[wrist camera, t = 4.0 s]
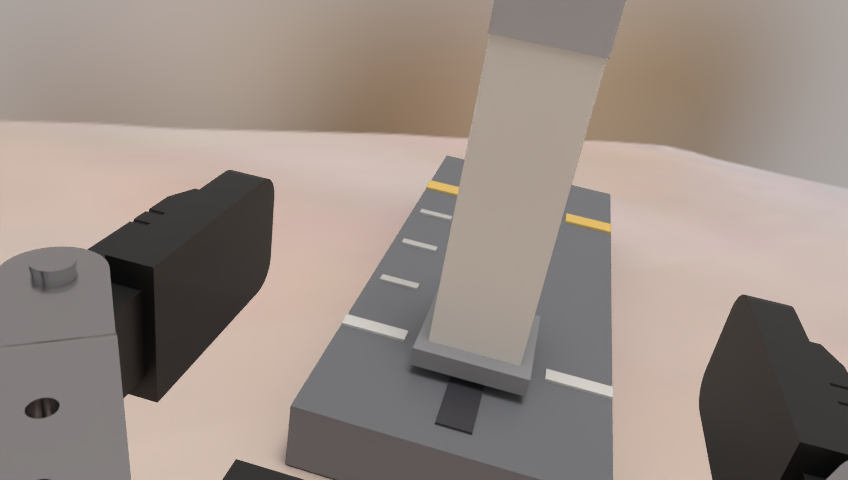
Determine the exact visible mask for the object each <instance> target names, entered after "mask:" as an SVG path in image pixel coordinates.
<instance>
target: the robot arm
mask: <svg viewBox="0 0 848 480" xmlns="http://www.w3.org/2000/svg"><path fill="white" fill-rule="evenodd" d="M273 208H274V186H273V183H272V181H271V180H270V179H266V178H262V177H258V176H254V175H249V174H245V173H241V172H237V171H233V170H228V171H226V172H224V173H223V174H221V175H220V176H218V177H217V178H215V179H214V180H213V181H211V182H210V183H208V184H207V185H205V186H204V187H202V188H201V189H199V190H198V189H192V190H189V191H186V192H182V193H179V194H175V195H172V196H169V197H167V198H165V199H164V200H162V201H161V202H159V203H158V204H156V205H155V206H153V207H152V208H150V209H149V212H146V211H145V212H144V213H142V214H141V215H139V216H138V217H136V218H135V219H134V222H129V223H127V224H126V225H124V226H123V227H121V228H120V229H118V230H117V231H115V232H113V233H112V234H110V235H109V236H107V237H106V238H104V239H103V240H101V241H100V242H98V243H97V244H95V245H94V246H92V247H91V248H89V249H88V250H86V249H82V248H75V247H49V248H41V249H36V250H32V251H28V252H25V253H22V254H19V255H17V256H14V257H12V258H10V259H9V260H7V261H6V262H4V263H3V264H2V265H1V266H0V480H131V474H130V464H129V453H128V443H127V432H126V422H125V411H124V401H123V398H124V397H125V396H126V395H127V394H131V395H134V396H137V397H141V398H144V399H147V400H151V401H154V402H158V401H159V400H160V399H161V398H162V397H163V396H164V395H165V394H166V393H167V392H168V390H169V389H170V388H171V387H172V386H173V385H174V384H175V383H176V382H177V381H178V379H179V378H180V377H181V376H182V375H183V374H184V373H185V372H186V371H187V370H188V368H189V367H190V366H191V365H192V364H193V363H194V362H195V361H196V360H197V359H198V357H199V356H200V355H201V354H202V353H203V352H204V351H205V350H206V349H207V348H208V346H209V345H210V344H211V343H212V342H213V341H214V340H215V339H216V338H217V337H218V335H219V334H220V333H221V332H222V331H223V330H224V329H225V328H226V327H227V326H228V324H229V323H230V322H231V321H232V320H233V319H234V318H235V317H236V316H237V315H238V313H239V312H240V311H241V310H242V309H243V308H244V307H245V306H246V305H247V304H248V302H249V301H250V300H251V299H252V298H253V297H254V296H255V295H256V294H257V292H258V291H259V290H260V288H261V287H262V285H263V283H264V281H265V279H266V276H267V273H268V269H269V265H270V258H271V242H272V225H273ZM699 410H700V416H701V421H702V426H703V432H704V437H705V442H706V448H707V453H708V458H709V464H710V469H711V474H712V480H848V373H847V371H846V369H845V367H844V366H843V365H842V364H841V363H840V362H839V361H838V360H837V359H836V358H834V357H833V356H832V355H831V354H830V353H829V352H828V351H827V350H826V349H825V348H824V347H823V346H822V345H821V344H817V343H813V342H810V341H809V339H808V337H807V335H806V333H805V331H804V329H803V327H802V324H801V322H800V320H799V318H798V316H797V314H796V312H795V310H794V308H793V307H792V306H789V305H785V304H780V303H776V302H772V301H768V300H764V299H760V298H756V297H751V296H747V295H741V296H739V297H738V299H737V300H736V301H735V303H734V305H733V307H732V309H731V311H730V314H729V316H728V318H727V321H726V323H725V325H724V328H723V330H722V333H721V335H720V337H719V340H718V342H717V344H716V347H715V349H714V352H713V354H712V356H711V359H710V361H709V363H708V366H707V368H706V371H705V373H704V376H703V380H702V384H701V389H700V396H699ZM223 480H303V479H300V478H297V477H293V476H290V475H287V474H283V473H280V472H277V471H273V470H270V469H267V468H263V467H260V466H257V465H254V464H250V463H247V462H244V461H240V460H237V459H236V460H235V462H234V463H233V465H232V466H231V468H230V469H229V471H228V472H227V474H226V475H225V477H224V478H223Z"/></svg>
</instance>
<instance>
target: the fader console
mask: <svg viewBox="0 0 848 480" xmlns="http://www.w3.org/2000/svg"><path fill="white" fill-rule="evenodd" d="M463 165H464V160H463V159H459V158H455V157H450V156H446V158H445V159H444V161H443V163H442V164H441V166H440V167H439V169H438V171H437V172H436V174H435V175H434V177H433V179H432V180H431V181H430V182H429V184H428V185H427V188H426V190H425V191H424V193H423V195H422V196H421V198H420V199H419V201H418V203H417V204H416V206H415V207H414V209H413V211H412V212H411V214H410V215H409V217H408V219H407V220H406V222H405V223H404V225H403V227H402V228H401V230H400V231H399V233H398V235H397V236H396V238H395V239H394V241H393V243H392V244H391V246H390V247H389V249H388V251H387V252H386V254H385V256H384V257H383V259H382V260H381V262H380V264H379V265H378V267H377V268H376V270H375V272H374V273H373V275H372V276H371V278H370V280H369V281H368V283H367V284H366V286H365V288H364V289H363V291H362V292H361V294H360V296H359V297H358V299H357V300H356V302H355V304H354V305H353V307H352V308H351V310H350V312H349V313H348V314H347V315H346V316H345V318H344V319H343V321H342V324H341V326H340V328H339V329H338V331H337V332H336V334H335V336H334V337H333V339H332V340H331V342H330V344H329V345H328V347H327V348H326V350H325V352H324V353H323V355H322V357H321V358H320V360H319V361H318V363H317V365H316V366H315V368H314V369H313V371H312V373H311V374H310V376H309V377H308V379H307V381H306V382H305V384H304V385H303V387H302V389H301V390H300V392H299V393H298V395H297V397H296V398H295V400H294V401H293V403H292V405H291V408H290V419H289V431H288V442H287V453H286V464H287V465H290V466H293V467H296V468H300V469H303V470H306V471H309V472H313V473H316V474H319V475H322V476H326V477H329V478H332V479H335V480H613V435H612V399H613V387H612V330H611V224H610V194H606V193H602V192H598V191H594V190H590V189H585V188H581V187H577V186H573V185H571V188H570V192H569V195H568V199H567V202H566V206H565V210H564V213H563V217H562V220H561V224H560V227H559V231H558V234H557V238H556V241H555V245H554V249H553V252H552V256H551V259H550V263H549V266H548V270H547V273H546V277H545V280H544V284H543V287H542V291H541V295H540V298H539V302H538V305H537V309H536V312H535V315H538V316H540V322H539V329H538V335H537V341H536V348H535V354H534V360H533V366H532V373H531V379H530V383H529V386H528V390H527V393H526V396H525V397H524V396H521V395H517V394H514V393H510V392H507V391H503V390H500V389H496V388H492V387H489V386H485V385H482V384H478V383H475V382H471V381H467V380H464V379H460V378H457V377H453V376H450V375H446V374H442V373H439V372H435V371H432V370H428V369H425V368H421V367H417V366H414V365H410V360H411V355H412V349H413V346H414V344H415V342H416V339H417V337H418V335H419V332H420V330H421V328H422V325H423V323H424V321H425V319H426V316H427V314H428V312H429V309H430V307H431V305H432V302H433V300H434V298H435V295H436V293H437V291H438V289H439V285H440V280H441V275H442V270H443V265H444V260H445V255H446V250H447V245H448V240H449V235H450V230H451V225H452V220H453V215H454V210H455V205H456V200H457V195H458V190H459V185H460V180H461V175H462V170H463Z"/></svg>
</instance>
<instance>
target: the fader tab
mask: <svg viewBox="0 0 848 480" xmlns="http://www.w3.org/2000/svg"><path fill="white" fill-rule="evenodd" d="M625 1H626V0H494V4H493V9H492V14H491V19H490V24H489V30H488V33H489V34H490V35H489V40H488V45H487V51H486V55H485V60H484V65H483V70H482V75H481V80H480V85H479V90H478V95H477V100H476V105H475V110H474V115H473V120H472V125H471V130H470V135H469V140H468V145H467V150H466V155H465V160H464V165H463V170H462V175H461V180H460V185H459V190H458V195H457V200H456V205H455V210H454V215H453V220H452V225H451V230H450V235H449V240H448V245H447V250H446V255H445V260H444V265H443V270H442V275H441V280H440V285H439V289H438V291H437V293H436V295H435V298H434V300H433V302H432V305H431V307H430V309H429V312H428V314H427V316H426V319H425V321H424V323H423V325H422V328H421V330H420V332H419V335H418V337H417V339H416V342H415V344H414V346H413V349H412V355H411V360H410V365H414V366H417V367H421V368H425V369H428V370H432V371H435V372H439V373H442V374H446V375H450V376H453V377H457V378H460V379H464V380H467V381H471V382H475V383H478V384H482V385H485V386H489V387H492V388H496V389H500V390H503V391H507V392H510V393H514V394H517V395H521V396H524V397H525V396H526V393H527V390H528V386H529V383H530V379H531V373H532V366H533V360H534V354H535V348H536V341H537V335H538V329H539V322H540V316H538V315H535V312H536V309H537V305H538V302H539V298H540V295H541V291H542V287H543V284H544V280H545V277H546V273H547V270H548V266H549V263H550V259H551V256H552V252H553V249H554V245H555V241H556V238H557V234H558V231H559V227H560V224H561V220H562V217H563V213H564V210H565V206H566V202H567V199H568V195H569V192H570V188H571V185H572V181H573V178H574V174H575V171H576V167H577V164H578V160H579V156H580V153H581V149H582V146H583V142H584V139H585V135H586V132H587V128H588V124H589V121H590V117H591V113H592V110H593V107H594V103H595V100H596V96H597V93H598V89H599V85H600V82H601V78H602V75H603V71H604V68H605V64H606V61H607V59H609V57H610V54H611V51H612V47H613V43H614V40H615V36H616V32H617V29H618V26H619V22H620V19H621V15H622V12H623V8H624V5H625Z"/></svg>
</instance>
